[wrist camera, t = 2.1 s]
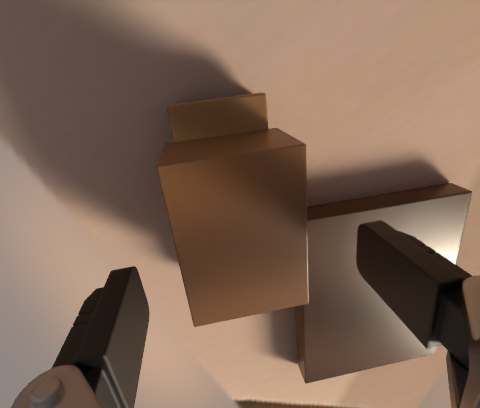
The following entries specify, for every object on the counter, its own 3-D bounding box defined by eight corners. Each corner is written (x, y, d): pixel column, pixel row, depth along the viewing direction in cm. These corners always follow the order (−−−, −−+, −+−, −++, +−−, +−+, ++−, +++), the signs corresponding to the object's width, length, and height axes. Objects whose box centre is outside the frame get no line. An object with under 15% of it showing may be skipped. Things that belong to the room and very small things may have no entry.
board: (291, 209, 17) (300, 221, 15) (451, 182, 18) (473, 191, 16) (298, 365, 22) (305, 384, 21) (420, 337, 23) (435, 353, 22)
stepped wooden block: (160, 104, 13) (144, 117, 9) (266, 90, 14) (305, 96, 9) (197, 278, 17) (199, 352, 13) (278, 263, 18) (309, 329, 13)
